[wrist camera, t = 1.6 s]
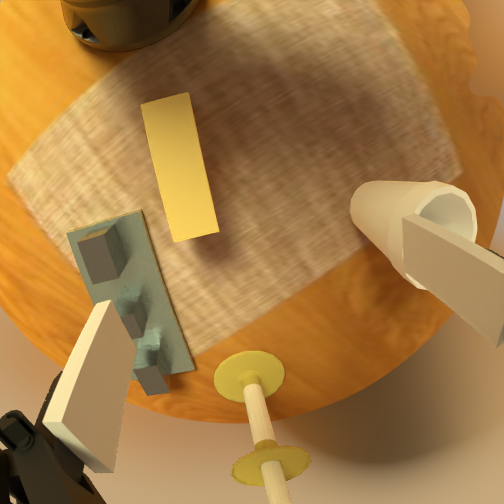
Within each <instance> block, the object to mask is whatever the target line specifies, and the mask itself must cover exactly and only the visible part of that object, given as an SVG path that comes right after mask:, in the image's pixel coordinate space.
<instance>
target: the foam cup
mask: <svg viewBox="0 0 504 504" xmlns="http://www.w3.org/2000/svg"><path fill="white" fill-rule="evenodd" d="M414 213H415V214H417V215H419V216H421V217H423V218H425V219H428V220H430V221H432V222H434V223H436V224H438V225H440V226H442V227H444V228H446V229H448V230H450V231H452V232H454V233H456V234H458V235H460V236H462V237H464V238H466V239H468V240H470V241H471V242H473V243H475V239H476V234H477V220H476V211H475V207H474V206H473V204H472V202H471V200H470V198H469V196H468V195H467V193H466V192H464V191H462V190H460V189H458V188H456V187H455V186H453V185H449V184H446V183H442V182H438V181H431V182H406V181H370V182H365V183H364V184H362V185H361V186H360V187H359V188H357V189H356V191H355V193H354V195H353V197H352V198H351V201H350V215H351V218H352V221H353V223H354V224H355V225H356V226H357V227H358V228H359V229H360V231H361V232H362V233H363V234H365V235H366V236H367V237H368V238H369V239H370V240H371V241H372V242H373V243H374V245H375V246H376V247H377V248H378V249H379V250H380V251H381V252H382V253H383V254H384V255H385V256H386V257H387V258H388V259H389V260H390V261H391V264H392V266H393V267H394V268H395V269H396V270H397V271H398V272H399V273H400V274H401V276H402V277H403V278H405V279H406V280H407V281H409V282H410V283H411V284H413V285H414V286H415V287H416V288H419V289H424V290H427V289H426V288H425V287H424V286H422V285H421V284H420V283H419V282H417V281H416V280H415V279H414V278H412V277H411V276H410V275H408V274H407V273H406V272H405V271H403V232H402V217H404V216H407V215H411V214H414Z"/></svg>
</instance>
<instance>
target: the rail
mask: <svg viewBox="0 0 504 504" xmlns="http://www.w3.org/2000/svg"><path fill="white" fill-rule="evenodd" d="M66 234H67V237H68V240H69V243H70V246H71V248H72V251H73V254H74V257H75V259H76V262H77V265H78V267H79V270H80V273H81V275H82V278H83V280H84V283H85V285H86V288H87V290H88V292H89V295H90V297H91V299H92V302H93V304H94V306H95V305H96V304H97V303H100V302H104V301H108V300H112V302H113V304H114V306H115V308H116V310H117V312H118V314H119V316H120V318H121V320H122V322H123V324H124V326H125V328H126V330H127V332H128V334H129V336H130V337H131V339H132V341H133V343H134V345H135V347H136V348H137V351H136V355H135V359H134V364H133V368H132V373H131V377H130V378H131V380H139V382H140V384H141V386H142V387H143V389H144V391H145V393H146V394H147V396H149V395H156V394H163V393H169V392H170V387H171V374H175V373H180V372H186V371H191V370H195V364H194V362H193V359H192V357H191V354H190V352H189V349H188V347H187V344H186V342H185V339H184V337H183V334H182V331H181V329H180V326H179V323H178V321H177V318H176V315H175V312H174V310H173V307H172V304H171V301H170V298H169V296H168V293H167V290H166V287H165V284H164V281H163V278H162V275H161V272H160V269H159V266H158V263H157V260H156V256H155V253H154V250H153V247H152V244H151V240H150V237H149V234H148V230H147V227H146V224H145V220H144V217H143V213H142V209H141V210H137V211H134V212H130V213H127V214H123V215H120V216H116V217H113V218H110V219H106V220H103V221H100V222H96V223H93V224H90V225H87V226H84V227H80V228H77V229H74V230H71V231H69V232H68V233H66Z"/></svg>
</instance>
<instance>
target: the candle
mask: <svg viewBox="0 0 504 504" xmlns="http://www.w3.org/2000/svg"><path fill="white" fill-rule="evenodd" d="M284 376H285V370H284V367H283V364H282V362H281V361H280V360H279V359H278V358H277V357H276V356H275V355H273V354H270V353H267V352H264V351H261V350H260V351H243V352H240V353H237V354H234V355H231V356H230V357H228V358H227V359H226V360H224V361H223V362H221V363H220V365H219V366H218V368H217V369H216V371H215V373H214V385H215V387H216V389H217V390H218V392H219V393H220V394H221V395H222V396H224V397H225V398H227V399H228V400H232V401H236V402H240V403H242V402H245V404H246V409H247V413H248V418H249V423H250V428H251V432H252V438H253V442H254V447H255V451H254V452H251V453H249V454H247V455H245V456H243V457H241V458H240V459H239V460H238V461H237V462H236V463H235V464H234V465H233V466H232V470H231V476H232V477H233V478H234V479H235V480H236V481H237V482H239V483H242V484H245V485H252V486H265V487H266V492H267V496H268V500H269V504H292V502H291V498H290V495H289V491H288V488H287V485H286V481H287V480H290V479H292V478H294V477H296V476H298V475H299V474H301V473H302V472H303V471H304V470H305V469H307V468H308V466H309V464H310V462H311V459H310V456H309V453H308V452H307V451H305V450H303V449H301V448H300V447H293V446H277V443H276V439H275V435H274V432H273V428H272V425H271V421H270V417H269V413H268V410H267V406H266V402H265V398H267V397H268V396H270V395H272V394H273V393H275V392H276V391H277V390H278V388H279V387H280V386H281V385H282V383H283V380H284Z"/></svg>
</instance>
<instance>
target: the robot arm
mask: <svg viewBox="0 0 504 504" xmlns="http://www.w3.org/2000/svg"><path fill="white" fill-rule="evenodd" d="M198 2H199V0H61V6H62V11H63V16H64V20H65V23H66V25H67V27H68V29H69V30H70V31H71V33H72V34H73V35H74V36H75V37H76V38H78V39H79V40H80V41H81V42H83V43H84V44H86V45H87V46H89V47H91V48H94V49H97V50H101V51H107V52H123V51H130V50H135V49H139V48H142V47H145V46H148V45H151V44H153V43H155V42H157V41H159V40H161V39H163V38H165V37H166V36H168V35H170V34H171V33H172V32H174V31H175V30H176V29H178V28H179V27H180V26H181V25H182V24H183V23H184V22H185V21H186V20H187V19H188V18H189V17H190V15H191V14H192V13H193V11H194V10H195V8H196V6H197V4H198ZM402 232H403V271H405V272H406V273H407V274H408V275H410V276H411V277H412V278H414V279H415V280H416V281H417V282H419V283H420V284H421V285H422V286H424V287H425V288H426V289H427V290H429V291H430V292H431V293H432V294H434V295H435V296H436V297H437V298H438V299H440V300H441V301H442V302H443V303H444V304H446V305H447V306H448V307H449V308H450V309H452V310H453V311H454V312H455V313H456V314H458V315H459V316H460V317H461V318H462V319H463V320H465V321H466V322H467V323H468V324H469V325H470V326H471V327H473V328H474V329H475V330H476V331H477V332H478V333H479V334H480V335H482V336H483V337H484V338H485V339H486V340H487V341H488V342H489V343H491V344H492V345H493V346H494V347H495V348H497V347H498V346H500V345H501V344H502V343H504V257H502V256H499V254H497V253H495V252H493V251H492V250H489V249H486V248H483V247H481V246H479V245H477V244H475V243H473V242H471V241H470V240H468V239H466V238H464V237H462V236H460V235H458V234H456V233H454V232H452V231H450V230H448V229H446V228H444V227H442V226H440V225H438V224H436V223H434V222H432V221H430V220H428V219H425V218H423V217H421V216H419V215H417V214H415V213H414V214H411V215H407V216H404V217H402ZM136 351H137V348H136V347H135V345H134V343H133V341H132V339H131V337H130V336H129V334H128V332H127V330H126V328H125V326H124V324H123V322H122V320H121V318H120V316H119V314H118V312H117V310H116V308H115V306H114V304H113V302H112V300H108V301H104V302H100V303H97V304H96V305H95V307H94V309H93V311H92V313H91V315H90V317H89V319H88V321H87V323H86V325H85V327H84V329H83V331H82V333H81V335H80V337H79V339H78V341H77V343H76V345H75V347H74V349H73V351H72V353H71V355H70V357H69V360H68V362H67V364H66V366H65V368H64V371H61V372H60V373H59V374H58V376H57V377H56V378H55V379H54V380H53V382H52V385H51V387H50V389H49V393H48V394H47V396H46V398H45V400H46V401H44V403H43V406H42V408H41V410H40V413H39V415H38V418H37V420H36V423H35V425H33V424H32V423H31V422H30V421H29V420H28V419H27V418H26V417H25V416H24V414H23V413H22V412H21V411H18V410H13V411H10V412H8V413H6V414H5V415H4V416H3V417H2V418H1V419H0V441H1V442H2V443H3V444H4V445H5V446H6V447H7V448H8V449H5V450H1V449H0V504H13V503H11V502H10V496H9V495H11V496H12V497H14V498H15V499H16V502H17V504H106V502H105V501H104V500H103V498H102V497H101V495H100V494H99V492H98V491H97V489H96V488H95V486H94V485H93V484H92V482H91V480H90V479H89V477H88V476H87V475H86V474H84V473H83V469H84V464H85V465H86V466H88V467H89V468H90V469H91V470H92V471H93V472H95V473H114V467H115V460H116V453H117V446H118V441H119V435H120V428H121V423H122V417H123V412H124V407H125V402H126V397H127V392H128V387H129V382H130V377H131V373H132V368H133V364H134V359H135V355H136Z"/></svg>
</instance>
